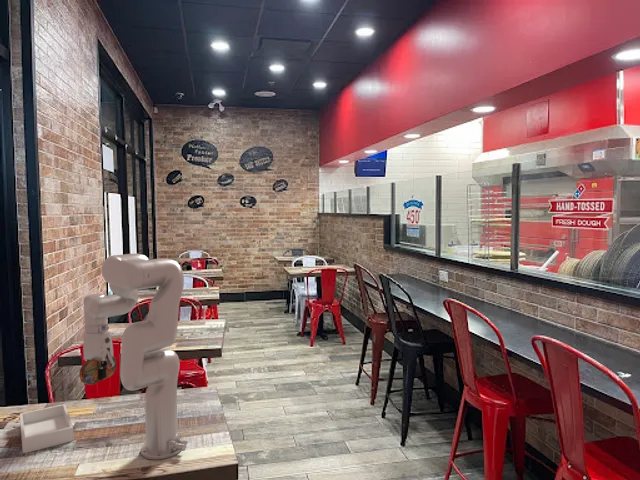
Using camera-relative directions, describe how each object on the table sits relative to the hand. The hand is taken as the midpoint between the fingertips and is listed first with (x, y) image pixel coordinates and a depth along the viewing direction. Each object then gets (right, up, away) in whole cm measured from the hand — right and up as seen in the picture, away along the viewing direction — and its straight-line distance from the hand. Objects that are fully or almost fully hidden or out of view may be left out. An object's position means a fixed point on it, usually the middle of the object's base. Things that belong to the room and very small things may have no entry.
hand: (98, 377), depth 170 cm
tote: (-12, -15, -12) cm, 23 cm away
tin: (0, -1, 0) cm, 1 cm away
